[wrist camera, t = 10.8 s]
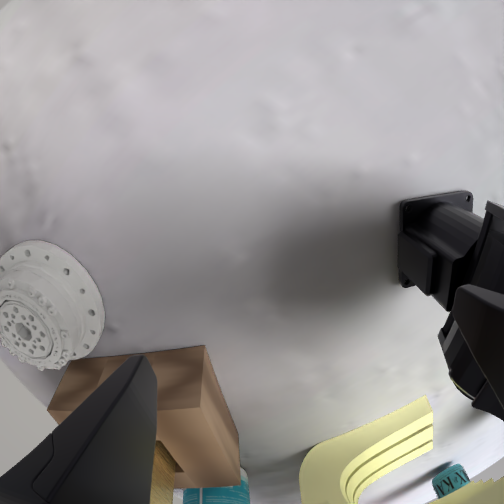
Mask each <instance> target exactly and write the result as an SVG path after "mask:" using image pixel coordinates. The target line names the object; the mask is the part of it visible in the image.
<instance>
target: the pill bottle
mask: <svg viewBox="0 0 504 504" xmlns="http://www.w3.org/2000/svg"><path fill="white" fill-rule="evenodd" d="M240 475H241V485H237V486H226V487H210V488H184V491H183V504H250V497H249V486H248V476H247V473H246V472H245V470H244V469H243V468H241V467H240Z"/></svg>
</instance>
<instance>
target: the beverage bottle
mask: <svg viewBox="0 0 504 504" xmlns="http://www.w3.org/2000/svg"><path fill="white" fill-rule="evenodd" d="M468 483H470V480H469V478H468V476H467V474H466V471H464V469H463V467H462V466H461V465H460V464H456V465H453V466H451V467H449V468H447V469H445V470H444V471H442V472H441V473H439V474H438V475H437V476H436V477H435V478H434V479H433V480H432V484H433V488H434V489H435V491H436V494H437V496H438V499H440V498H442V497H444V496H446V495H448V494H450V493H452V492H454V491H456V490H458V489H460V488H461V487H463V486H465V485H467V484H468Z"/></svg>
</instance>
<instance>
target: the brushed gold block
mask: <svg viewBox="0 0 504 504" xmlns="http://www.w3.org/2000/svg"><path fill="white" fill-rule="evenodd" d="M175 467H176V460H175V459H174V458H173V457H172V455H171V454H170V453H169V451H168V450H167V448H166V447H165V446H164V444H163V443H162V442H161V440H156V443H155V452H154V461H153V472H152V482H151V494H150V504H172V501H173V490H174V478H175Z"/></svg>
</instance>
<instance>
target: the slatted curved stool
mask: <svg viewBox="0 0 504 504" xmlns="http://www.w3.org/2000/svg"><path fill="white" fill-rule="evenodd" d="M432 423H433V410H432V408H431V406H430V404H429V402H428V399H427V397H426V395H425V396H423V397H421V398H419V399H417V400H415V401H414V402H412V403H410V404H408V405H406V406H404V407H402V408H400V409H398V410H396V411H394V412H392V413H390V414H388V415H386V416H384V417H381V418H379V419H377V420H375V421H373V422H370V423H368V424H366V425H364V426H361V427H359V428H357V429H354V430H352V431H349V432H347V433H345V434H342V435H339V436H337V437H334V438H332V439H329V440H326V441H324V442H321V443H319V444H317V445H316V446H315V447H313V448H312V449H311V450H310V451H309V452H308V454H307V455H306V457H305V458H304V460H303V462H302V465H301V468H300V472H299V485H300V492H301V502H302V504H358V499H359V496H360V494H361V493H362V491H363V490H364V489H365V488H366V487H367V486H369V485H370V484H371V483H373V482H374V481H375V480H377V479H379V478H380V477H382V476H383V475H385V474H387V473H388V472H390V471H392V470H394V469H396V468H398V467H399V466H401V465H403V464H405V463H407V462H409V461H411V460H413V459H414V458H416V457H418V456H420V455H422V454H424V453H426V452H427V451H429V450H431V449H432V448H433V441H432V438H433V425H432ZM429 504H504V476H503V477H502V478H500V479H499V480H497V481H496V482H494V481H493V479H492V478H491V479H489V480H488V481H486V482H485V483H483V481H482V480H480V481H479V482H477V483H474V481H472V482H470V483H468V484H467V485H465V486H463V487H461V488H460V489H458V490H456V491H454V492H452V493H450V494H448V495H446V496H444V497H442V498H440V499H438V500H436V501H433V502H431V503H429Z"/></svg>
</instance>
